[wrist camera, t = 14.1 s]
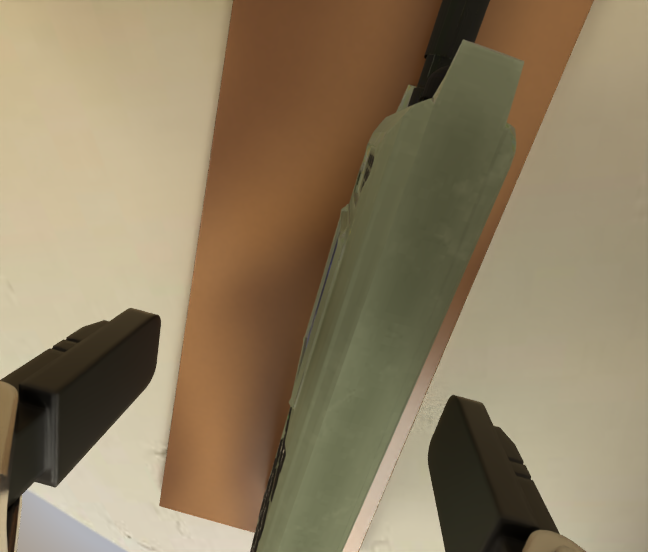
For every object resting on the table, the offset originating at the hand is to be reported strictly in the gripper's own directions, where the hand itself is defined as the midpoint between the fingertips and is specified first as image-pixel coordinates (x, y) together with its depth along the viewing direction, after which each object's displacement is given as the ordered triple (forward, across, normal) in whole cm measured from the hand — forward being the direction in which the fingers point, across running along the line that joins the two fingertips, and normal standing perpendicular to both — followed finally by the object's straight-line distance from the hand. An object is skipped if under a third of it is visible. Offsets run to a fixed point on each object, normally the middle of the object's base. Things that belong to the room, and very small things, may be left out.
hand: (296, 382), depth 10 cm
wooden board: (+6, 0, -1) cm, 6 cm away
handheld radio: (+6, -2, -1) cm, 6 cm away
